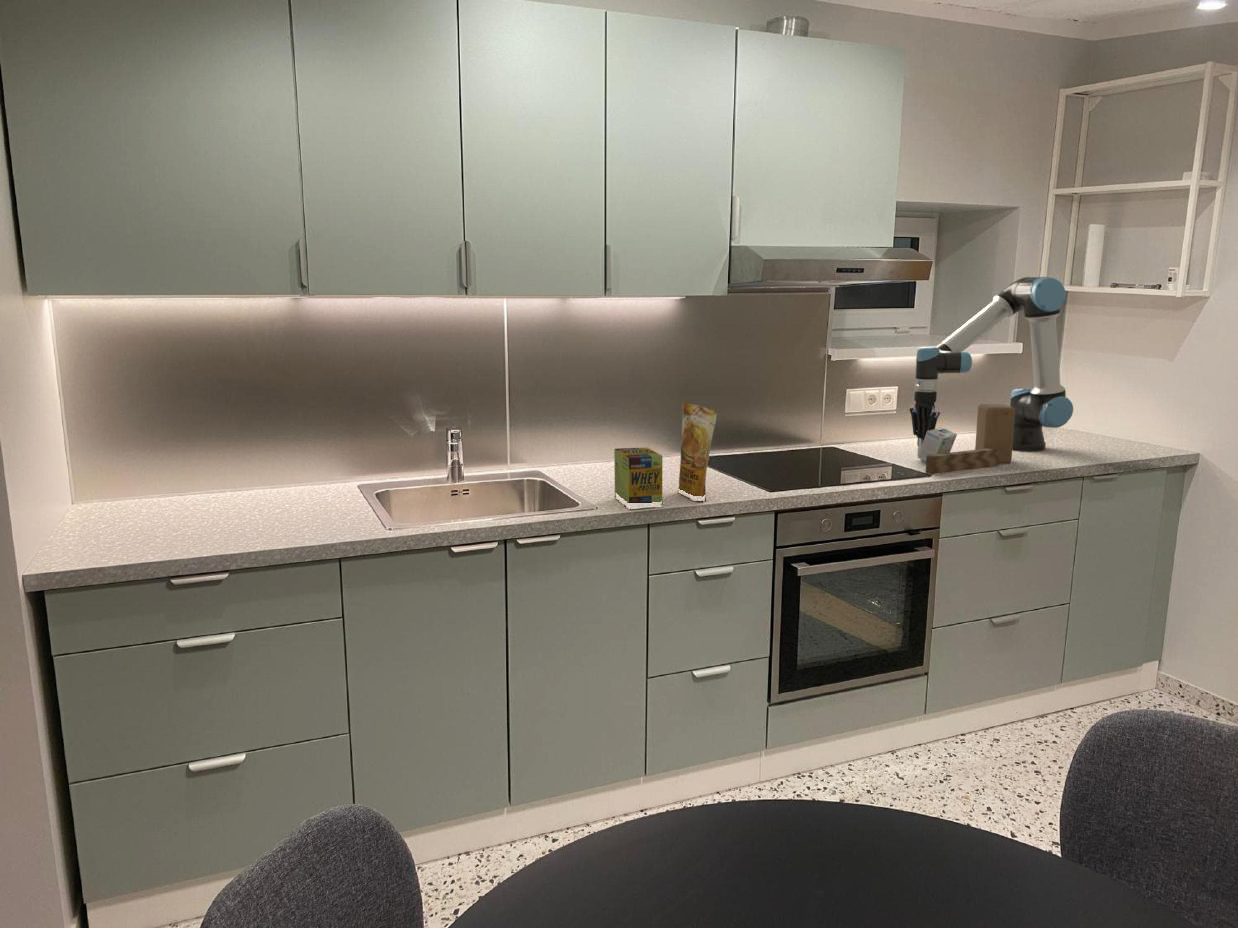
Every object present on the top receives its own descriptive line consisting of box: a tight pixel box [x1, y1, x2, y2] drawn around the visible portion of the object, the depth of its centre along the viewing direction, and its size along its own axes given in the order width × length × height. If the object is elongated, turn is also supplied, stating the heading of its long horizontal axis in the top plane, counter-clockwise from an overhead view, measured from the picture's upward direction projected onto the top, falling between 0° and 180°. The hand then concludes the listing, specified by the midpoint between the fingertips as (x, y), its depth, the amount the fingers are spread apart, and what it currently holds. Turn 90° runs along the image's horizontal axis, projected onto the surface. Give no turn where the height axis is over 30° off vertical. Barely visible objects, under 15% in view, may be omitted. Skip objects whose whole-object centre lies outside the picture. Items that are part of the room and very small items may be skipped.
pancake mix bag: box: [678, 401, 718, 497], centre depth 278 cm, size 7×19×28 cm, turn 21°
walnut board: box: [925, 448, 999, 475], centre depth 316 cm, size 30×3×6 cm, turn 115°
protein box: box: [613, 446, 663, 503], centre depth 272 cm, size 10×15×16 cm
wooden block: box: [974, 403, 1015, 465], centre depth 328 cm, size 10×10×20 cm
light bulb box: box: [917, 427, 958, 463], centre depth 327 cm, size 11×7×11 cm, turn 134°
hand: (921, 455), depth 333 cm, fingers closed
